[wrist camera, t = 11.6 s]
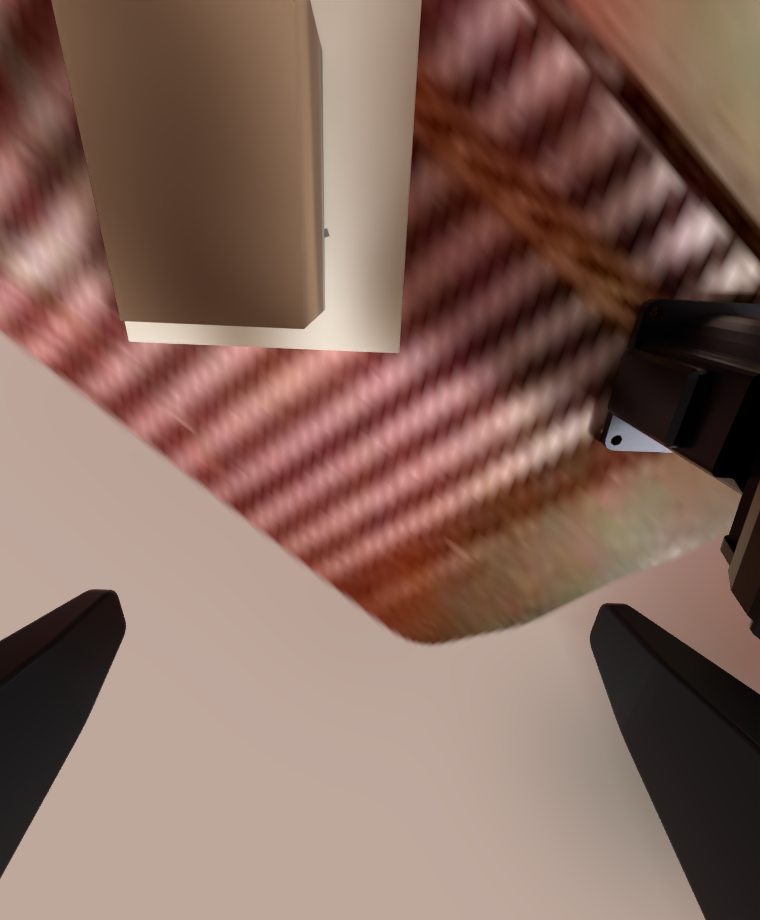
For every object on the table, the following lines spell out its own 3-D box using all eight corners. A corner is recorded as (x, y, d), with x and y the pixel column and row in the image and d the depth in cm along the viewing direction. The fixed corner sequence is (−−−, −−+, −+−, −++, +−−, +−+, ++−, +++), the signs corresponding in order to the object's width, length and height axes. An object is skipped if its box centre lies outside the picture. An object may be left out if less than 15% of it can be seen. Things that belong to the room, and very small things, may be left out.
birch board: (415, 21, 13) (422, -19, 11) (396, 343, 17) (399, 353, 15) (93, -2, 13) (46, -46, 11) (155, 333, 17) (129, 341, 15)
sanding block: (322, 50, 12) (290, -83, 7) (325, 309, 15) (303, 329, 10) (163, 40, 12) (28, -103, 7) (198, 303, 15) (120, 321, 10)
